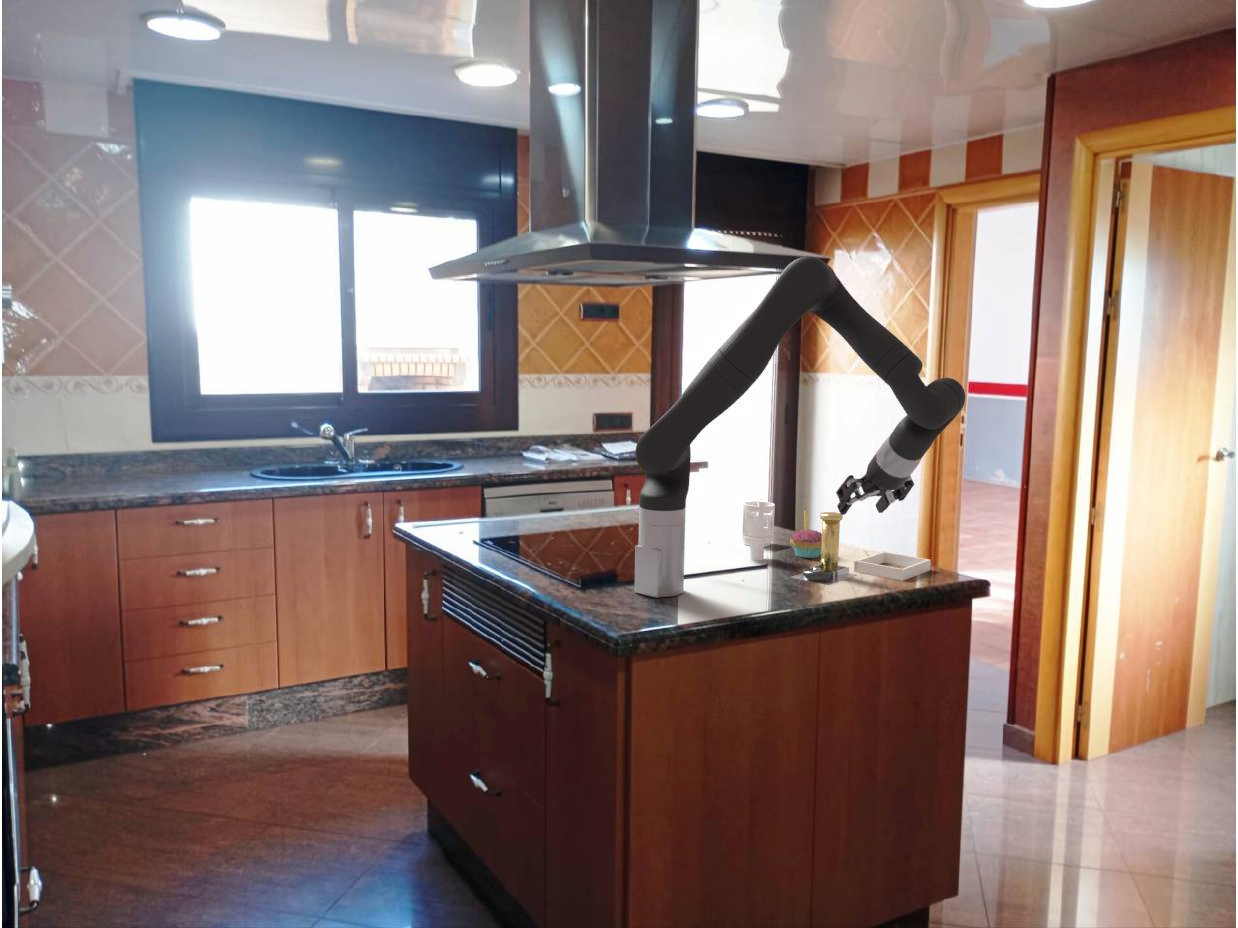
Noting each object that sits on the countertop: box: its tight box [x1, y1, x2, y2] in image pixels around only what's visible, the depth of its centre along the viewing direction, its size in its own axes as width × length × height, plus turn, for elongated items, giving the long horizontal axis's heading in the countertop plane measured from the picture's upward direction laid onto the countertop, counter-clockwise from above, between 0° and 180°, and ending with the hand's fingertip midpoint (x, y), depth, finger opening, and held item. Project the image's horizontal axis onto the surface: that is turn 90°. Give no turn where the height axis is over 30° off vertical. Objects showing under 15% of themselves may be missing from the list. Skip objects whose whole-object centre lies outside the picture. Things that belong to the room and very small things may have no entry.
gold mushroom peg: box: [819, 511, 844, 572], centre depth 208 cm, size 5×5×13 cm
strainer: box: [741, 499, 776, 562], centre depth 221 cm, size 7×7×15 cm
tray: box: [853, 551, 932, 582], centre depth 213 cm, size 13×11×4 cm
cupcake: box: [789, 507, 822, 559], centre depth 226 cm, size 9×8×12 cm
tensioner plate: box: [790, 562, 857, 586], centre depth 207 cm, size 12×9×3 cm
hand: (859, 510), depth 197 cm, fingers open, 8 cm apart
